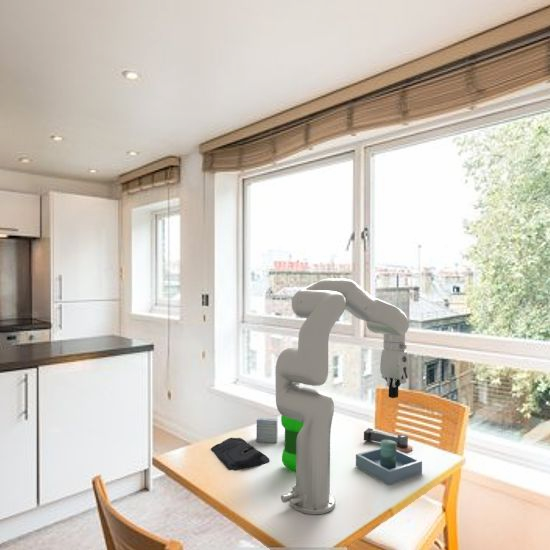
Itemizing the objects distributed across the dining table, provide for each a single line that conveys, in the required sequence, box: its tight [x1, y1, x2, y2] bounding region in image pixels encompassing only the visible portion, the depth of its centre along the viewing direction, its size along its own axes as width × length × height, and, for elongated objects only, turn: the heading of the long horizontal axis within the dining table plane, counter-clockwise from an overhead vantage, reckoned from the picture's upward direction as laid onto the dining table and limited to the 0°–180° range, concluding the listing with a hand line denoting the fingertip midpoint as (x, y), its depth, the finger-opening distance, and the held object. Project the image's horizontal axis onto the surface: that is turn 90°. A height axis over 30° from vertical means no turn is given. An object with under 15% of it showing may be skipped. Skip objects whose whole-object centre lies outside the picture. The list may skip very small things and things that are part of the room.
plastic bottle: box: [280, 414, 303, 473], centre depth 141 cm, size 10×10×25 cm
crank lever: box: [363, 428, 409, 448], centre depth 162 cm, size 16×5×4 cm, turn 57°
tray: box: [355, 447, 423, 486], centre depth 140 cm, size 15×15×4 cm
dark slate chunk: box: [210, 437, 270, 472], centre depth 151 cm, size 15×22×5 cm
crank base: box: [396, 444, 413, 453], centre depth 158 cm, size 7×7×1 cm
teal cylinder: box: [380, 440, 397, 470], centre depth 140 cm, size 5×5×8 cm
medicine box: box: [255, 416, 279, 444], centre depth 165 cm, size 8×4×9 cm, turn 84°
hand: (393, 397), depth 153 cm, fingers closed
